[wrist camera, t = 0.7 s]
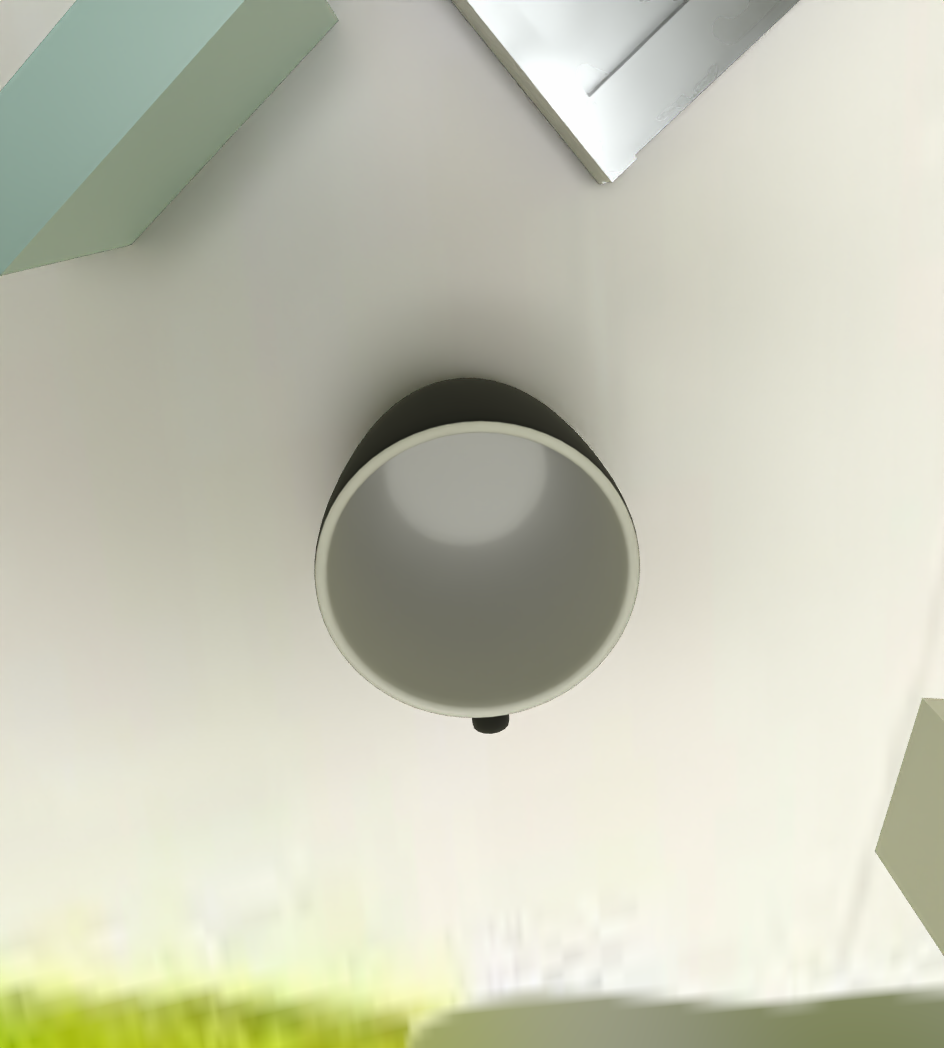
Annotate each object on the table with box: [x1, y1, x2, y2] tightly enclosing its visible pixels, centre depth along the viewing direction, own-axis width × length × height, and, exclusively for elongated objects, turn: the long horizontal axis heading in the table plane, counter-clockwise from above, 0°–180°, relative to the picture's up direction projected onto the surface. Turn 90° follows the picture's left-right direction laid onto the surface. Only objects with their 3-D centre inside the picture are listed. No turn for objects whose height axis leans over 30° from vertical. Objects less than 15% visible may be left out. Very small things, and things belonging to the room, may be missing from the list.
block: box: [0, 0, 339, 276], centre depth 24 cm, size 2×10×10 cm, turn 133°
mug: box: [315, 378, 640, 734], centre depth 30 cm, size 12×9×10 cm
